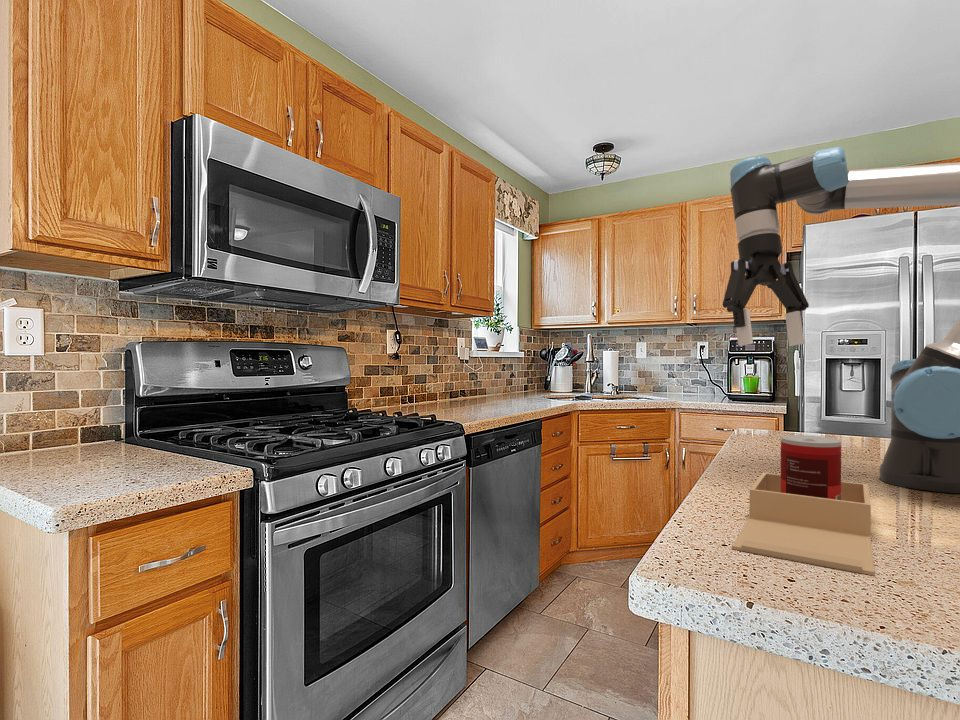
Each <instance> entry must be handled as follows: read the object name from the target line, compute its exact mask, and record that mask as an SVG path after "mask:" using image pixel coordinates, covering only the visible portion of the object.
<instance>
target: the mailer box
mask: <svg viewBox="0 0 960 720" xmlns="http://www.w3.org/2000/svg"><path fill="white" fill-rule="evenodd" d="M871 505H872V504H871V498H870V491H869V484H868V483H860V482H859V483H858V482H851V481H843V480H841V500H835V499H827V498H819V497H811V496H803V495H795V494H787V493H781V473H780V474H778V473H770V472H762V473H761V474H760V476H759V477H758V479H756V480H755V482H754V483H753V484H752V486H751V487H750V489H749V514H748V515H749V518H748V519H747V521H746V522H745V524H744V526H743V528H742V529H741V531H740V532H739V533H738V535H737V537H736V538H735V540H734V541H733V543H732V545H731V550H734V551H740V552H744V553H745V552H746V553H750V554H756V555H761V556H766V557H771V558H772V557H773V558H778V559H783V560H788V561H792V562H793V561H794V562H798V563H799V562H800V563H802V564H803V563H805V564H810V565H814V566H821V567H824V568H825V567H827V568H831V569H837V570H841V571H847V572H852V573H857V574H858V573H859V574H861V575H862V574H863V575H867V576H868V575H869V576H874V577H875V571H876V570H875V564H874V556H873V548H872V547H873V546H872V538H871V534H872V533H871V532H872V530H871V525H872V524H871V523H872V522H871V521H872V519H871V515H872V514H871V512H872V510H871V509H872V507H871Z"/></svg>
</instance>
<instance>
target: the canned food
mask: <svg viewBox="0 0 960 720" xmlns="http://www.w3.org/2000/svg"><path fill="white" fill-rule="evenodd" d="M841 443H842V442H841V440H839V439H836V438H835V437H834V438H833V437H827V436H819V435H807V434H806V435H805V434H803V435H802V434H792V435H791V434H788V435H783V436H781V439H780V475H781V493H787V494H795V495H803V496H811V497H819V498H827V499H835V500H841V481H842V444H841Z"/></svg>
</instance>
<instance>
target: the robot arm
mask: <svg viewBox="0 0 960 720" xmlns="http://www.w3.org/2000/svg"><path fill="white" fill-rule="evenodd" d="M847 164H848V163H847V158H846V151H845V149H844V148H843V147H842V146H832V147H829V148H825V149H819V150H817V151H815V152H811V153H808V154H806V155H801V156H798V157H796V158H791V159H789V160H786V161H781V162H778V163H773V164H772V162H771V159H770V158H769V157H766V156H756V157H752V156H751V157H748V158H745V159H742V160H740V161H739V162H737V163H735V164H734V165H733V166H732V167H731V169H730V172H729V176H730V188H729V190H730V191H729V192H730V194H731V201H732V209H733V215H734V222H735V231H736V237H737V240H738V242H737V250H738V258H739V259H736V260H733V261H731V262H730V275H729V279H728V282H727V285H726V290H725V293H724V297H723V300H722V307H723V308H726V310H727V312H728V313H732V318H733V324H734V325H733V326H734V328H736V336H737V337H736V338H737V345H738V347H743V346H748V345H753V344H754V340H753V339H754V337H753V330H752V323H751V322H752V320H751V313H750V309H749V308H746V306H747V305H748V303H749V301H750V298H752V295H753V293H754V291H755V289H756V288H757V286H759V285H760V286H765V287H767V288H768V289H771V290H772V292H773V294H775V296H776V297H777V298H778V300H779V302H780V303H781V304H782V305H783V307H784V308H785V310H786V311H787V313H784V315H785V324H786V331H787V332H786V333H787V339H788V340H787V341H788V347H793V346H794V347H795V346H800V345H804V344H805V338H804V337H805V336H804V329H803V325H804V324H803V317H802V311H807V309H808V308H809V306H810V304H809V302H808V300H807V298H806V296H805V294H804V291H803V289H802V287H801V285H800V284H799V281H798V280H797V276H796V275H795V273H794V269H793V265H792V262H790V261H787V262H785V263H780V260H779V257H780V255H781V254H782V253H783V246H782V239H781V235H780V234H779V233H780V231H781V229H780V228H781V227H780V221H779V215H778V208H777V205H779V204H783V203H787V202H791V201H795V200H796V203H797V205H798V206H799V208H801V209H802V210H803V211H805V213H808V214H810V215H822V214H826V213H828V212H830V211H839V210H856V209H857V210H858V209H859V210H860V209H861V210H862V209H885V208H887V209H888V208H889V209H890V208H910V207H911V208H912V207H913V208H915V207H939V206H940V207H942V206H945V207H946V206H960V162H959V161H957V162H945V163H931V164H917V165H905V166H902V165H901V166H889V167H887V166H886V167H876V168H875V167H874V168H860V169H850V170H848V165H847ZM889 377H890V379H889V380H890V381H891V383H890V384H891V389H890V390H891V392H890V393H891V396H890V397H891V399H890V401H891V403H890V404H891V405H890V407H891V409H890V412H891V413H890V415H891V416H890V420H891V421H890V425H891V426H890V441H889V445H888V447H887V449H886V451H885V455H884V457H883V460H882V463H881V464H880V466H879V480H881V481H882V482H886V483H888V484H891V485H894V486H895V485H896V486H899V487H903V488H909V489H917V490H920V491H921V490H922V491H930V492H936V493H937V492H939V493H947V494H948V493H951V494H960V317H959V318H958V320H957V321H956V322H955V324H954V325H953V326H952V328H951V329H950V331H949V332H948V333H947V335H946V336H945V337H944V338H943V340H940V341H938V342H934V343H929V344H926V345H925V346H924V348H923V349H922V351H921V352H920V353H919V355H918V356H917V358H913V359H902V360H898V361H896V362H895V363H894V364H893V365H892V367H891V373H890V376H889Z"/></svg>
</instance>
